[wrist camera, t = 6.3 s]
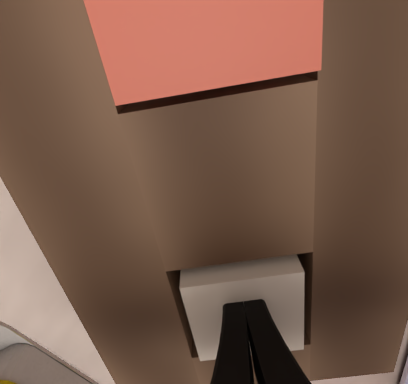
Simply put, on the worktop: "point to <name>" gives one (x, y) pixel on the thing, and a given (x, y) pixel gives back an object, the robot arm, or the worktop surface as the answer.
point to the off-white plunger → (244, 298)
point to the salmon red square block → (202, 43)
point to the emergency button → (33, 362)
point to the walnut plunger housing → (214, 187)
